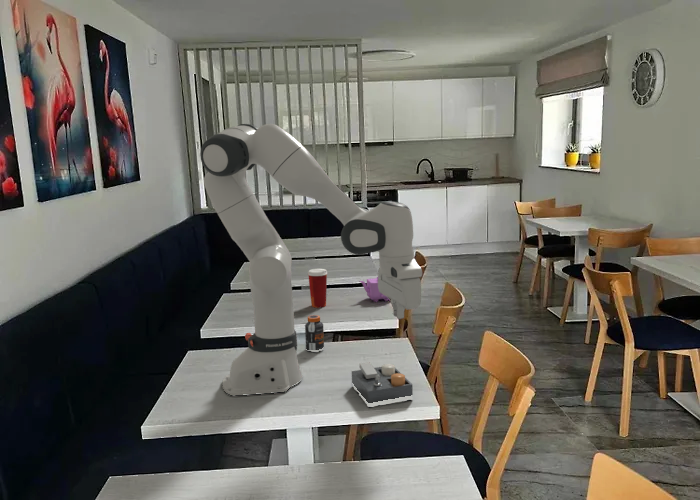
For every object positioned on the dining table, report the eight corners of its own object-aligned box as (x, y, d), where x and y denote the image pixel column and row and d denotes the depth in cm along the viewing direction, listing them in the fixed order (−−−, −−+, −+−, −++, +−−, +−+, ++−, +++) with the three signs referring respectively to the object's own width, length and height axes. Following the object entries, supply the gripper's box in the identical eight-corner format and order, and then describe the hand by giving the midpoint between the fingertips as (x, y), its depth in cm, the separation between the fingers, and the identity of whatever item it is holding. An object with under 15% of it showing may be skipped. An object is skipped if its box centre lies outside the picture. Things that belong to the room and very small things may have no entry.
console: (368, 408, 146) (368, 380, 144) (352, 386, 159) (351, 360, 158) (412, 400, 149) (412, 373, 148) (392, 380, 162) (392, 355, 161)
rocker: (366, 378, 152) (366, 375, 152) (359, 367, 158) (359, 363, 157) (377, 377, 153) (377, 373, 153) (369, 365, 158) (369, 361, 158)
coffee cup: (332, 304, 241) (331, 269, 238) (321, 309, 234) (319, 273, 231) (316, 302, 245) (314, 267, 242) (304, 306, 238) (303, 271, 235)
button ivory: (384, 383, 155) (384, 369, 155) (380, 378, 159) (379, 365, 158) (397, 381, 156) (396, 367, 156) (392, 376, 160) (392, 363, 159)
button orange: (394, 394, 149) (394, 379, 148) (389, 388, 152) (389, 374, 151) (407, 392, 150) (407, 377, 149) (402, 386, 153) (401, 372, 152)
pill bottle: (317, 354, 184) (315, 320, 182) (302, 351, 187) (300, 317, 185) (327, 348, 189) (326, 315, 187) (313, 345, 192) (311, 312, 190)
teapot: (395, 293, 255) (395, 271, 253) (404, 301, 242) (403, 278, 241) (355, 296, 252) (354, 274, 250) (362, 304, 239) (361, 281, 237)
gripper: (371, 259, 156) (373, 308, 158) (401, 274, 137) (403, 330, 139) (392, 256, 158) (394, 305, 160) (425, 271, 139) (426, 326, 141)
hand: (398, 317), depth 150 cm, fingers closed
